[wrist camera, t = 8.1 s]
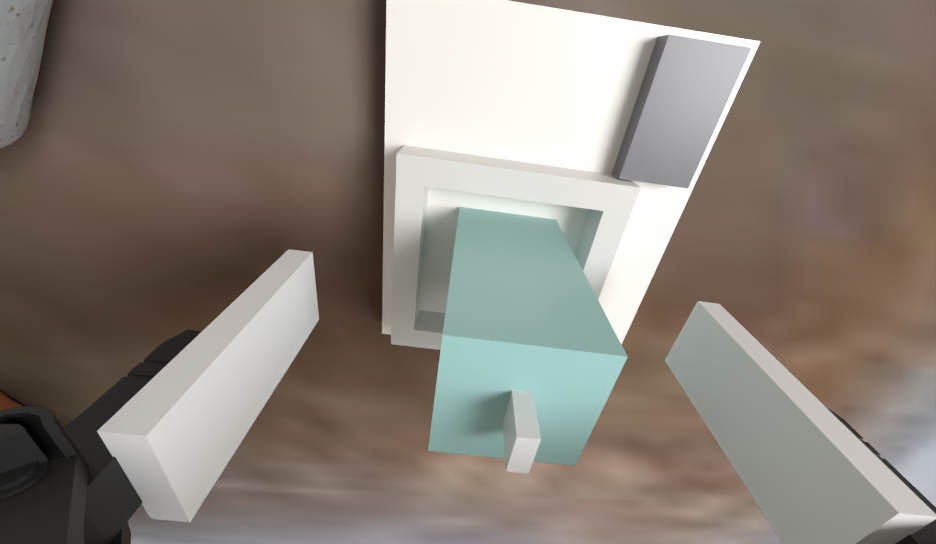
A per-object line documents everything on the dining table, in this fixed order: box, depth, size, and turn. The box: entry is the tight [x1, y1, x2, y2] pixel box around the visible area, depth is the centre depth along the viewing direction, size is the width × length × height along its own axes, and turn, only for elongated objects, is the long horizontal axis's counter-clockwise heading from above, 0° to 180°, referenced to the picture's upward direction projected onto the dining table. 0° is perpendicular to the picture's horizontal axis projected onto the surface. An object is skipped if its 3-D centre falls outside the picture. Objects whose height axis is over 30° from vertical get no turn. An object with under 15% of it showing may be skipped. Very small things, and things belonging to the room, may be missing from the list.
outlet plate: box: [382, 0, 760, 350], centre depth 14 cm, size 14×12×3 cm
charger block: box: [428, 207, 628, 474], centre depth 11 cm, size 4×4×9 cm
